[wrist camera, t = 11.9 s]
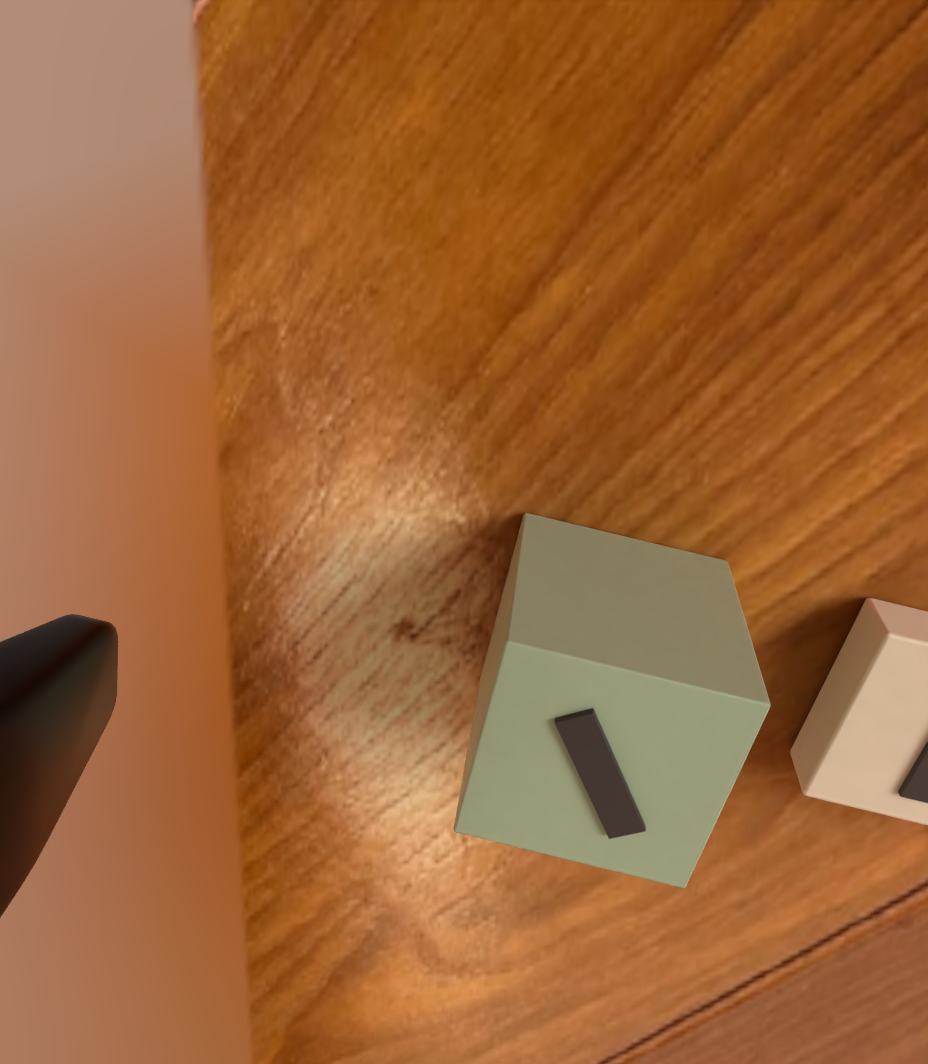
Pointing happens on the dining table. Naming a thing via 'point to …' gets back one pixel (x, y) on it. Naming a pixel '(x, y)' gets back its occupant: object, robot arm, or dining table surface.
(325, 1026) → the dining table surface
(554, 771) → the green letter i block
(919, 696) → the beige letter tiles
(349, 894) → the dining table surface
